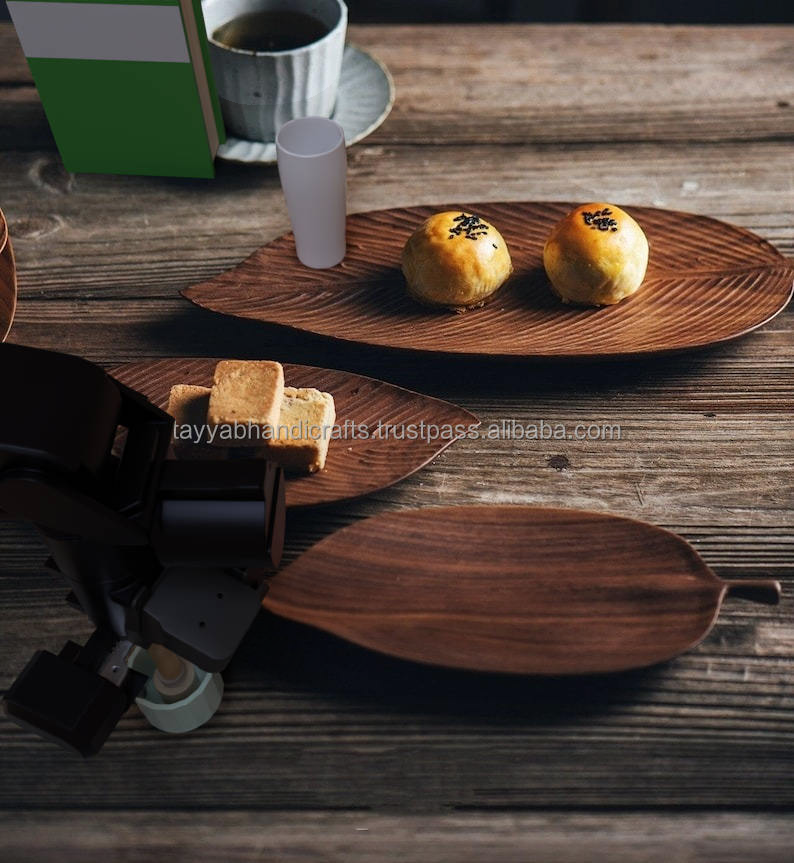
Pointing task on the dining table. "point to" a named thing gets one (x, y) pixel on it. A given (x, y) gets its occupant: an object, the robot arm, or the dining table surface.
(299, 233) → the drinking glass
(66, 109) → the hardback book
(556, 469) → the dining table surface
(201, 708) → the cup
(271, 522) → the robot arm
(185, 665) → the brush
